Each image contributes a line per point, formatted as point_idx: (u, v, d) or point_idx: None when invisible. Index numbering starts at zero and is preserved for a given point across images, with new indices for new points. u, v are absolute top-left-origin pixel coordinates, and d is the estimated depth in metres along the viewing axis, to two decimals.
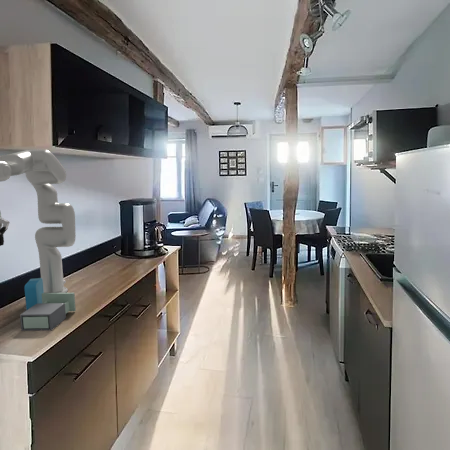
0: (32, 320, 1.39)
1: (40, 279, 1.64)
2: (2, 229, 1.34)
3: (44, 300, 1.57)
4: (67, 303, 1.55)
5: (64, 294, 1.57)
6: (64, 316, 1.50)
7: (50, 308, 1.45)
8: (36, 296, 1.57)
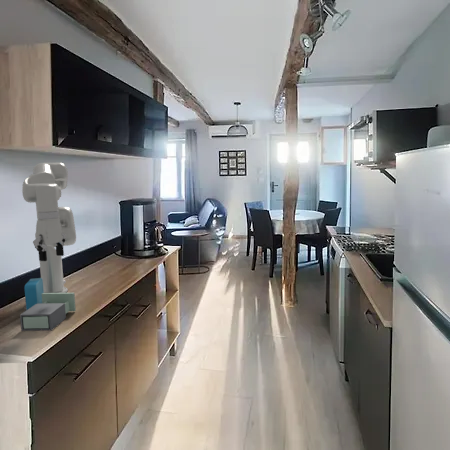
0: (32, 320, 1.39)
1: (40, 279, 1.64)
2: (63, 241, 1.62)
3: (44, 300, 1.57)
4: (67, 303, 1.55)
5: (64, 294, 1.57)
6: (64, 316, 1.50)
7: (50, 308, 1.45)
8: (36, 296, 1.57)
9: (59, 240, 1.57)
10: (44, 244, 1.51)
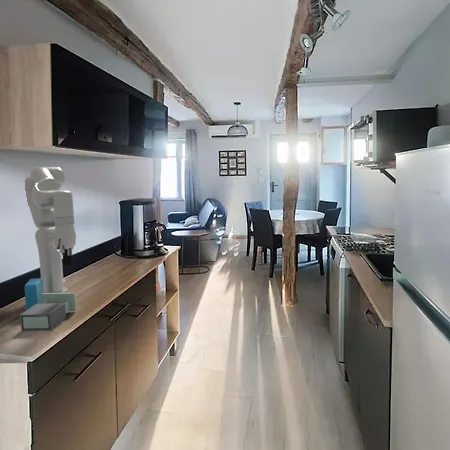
0: (32, 320, 1.39)
1: (40, 279, 1.64)
2: None
3: (44, 300, 1.57)
4: (67, 303, 1.55)
5: (64, 294, 1.57)
6: (64, 316, 1.50)
7: (50, 308, 1.45)
8: (36, 296, 1.57)
9: (74, 244, 1.64)
10: (67, 250, 1.59)
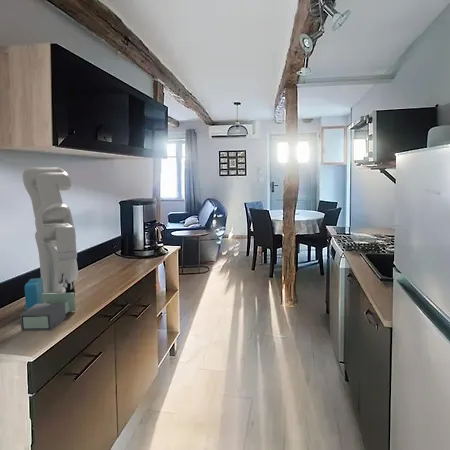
0: (32, 320, 1.39)
1: (40, 279, 1.64)
2: None
3: (44, 300, 1.57)
4: (67, 303, 1.55)
5: (64, 294, 1.57)
6: (64, 316, 1.50)
7: (50, 308, 1.45)
8: (36, 296, 1.57)
9: (76, 277, 1.65)
10: (70, 284, 1.61)
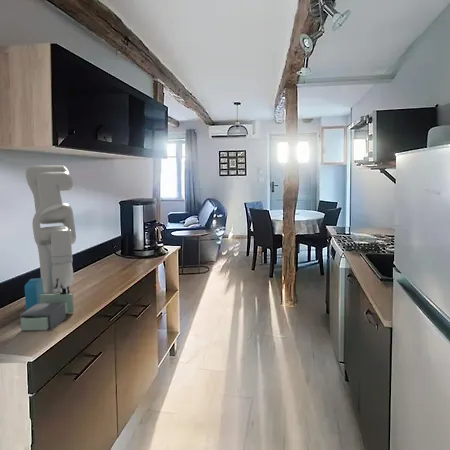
0: (30, 321, 1.38)
1: (40, 279, 1.64)
2: None
3: (42, 301, 1.56)
4: (65, 304, 1.54)
5: (62, 295, 1.55)
6: (64, 316, 1.50)
7: (50, 308, 1.45)
8: (36, 296, 1.57)
9: (72, 282, 1.61)
10: (65, 289, 1.57)
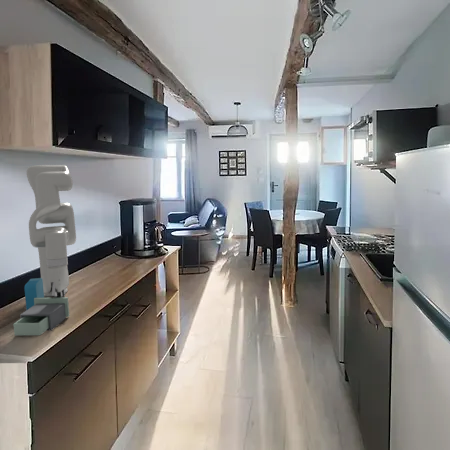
0: (23, 326, 1.33)
1: (40, 279, 1.64)
2: None
3: None
4: None
5: (57, 299, 1.51)
6: (64, 316, 1.50)
7: (50, 308, 1.45)
8: (36, 296, 1.57)
9: (67, 285, 1.56)
10: (60, 292, 1.52)
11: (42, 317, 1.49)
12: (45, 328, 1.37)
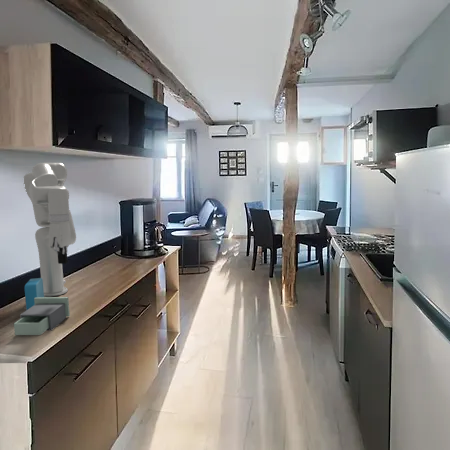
0: (23, 326, 1.34)
1: (40, 279, 1.64)
2: (66, 247, 1.60)
3: None
4: None
5: (58, 299, 1.51)
6: (64, 316, 1.50)
7: (50, 308, 1.45)
8: (36, 296, 1.57)
9: (69, 242, 1.60)
10: (62, 248, 1.55)
11: (42, 317, 1.50)
12: (45, 328, 1.38)
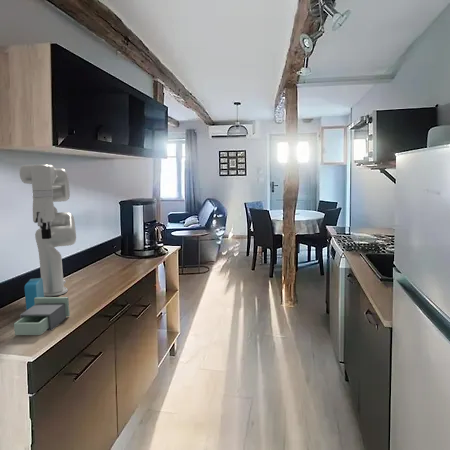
0: (23, 326, 1.34)
1: (40, 279, 1.64)
2: None
3: None
4: None
5: (58, 299, 1.51)
6: (64, 316, 1.50)
7: (50, 308, 1.45)
8: (36, 296, 1.57)
9: (53, 218, 1.65)
10: (45, 223, 1.60)
11: (42, 317, 1.50)
12: (45, 328, 1.38)
